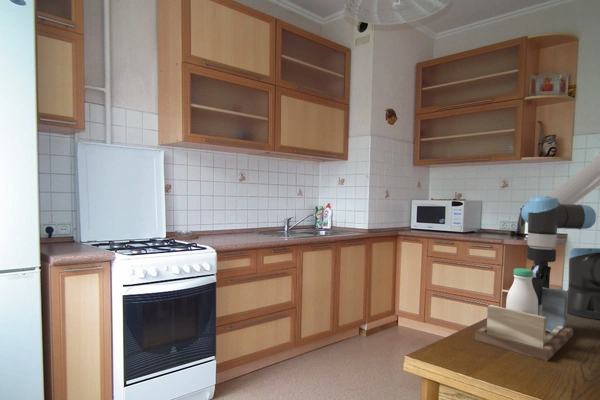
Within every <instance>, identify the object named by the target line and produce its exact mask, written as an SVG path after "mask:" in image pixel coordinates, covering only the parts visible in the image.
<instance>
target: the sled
mask: <svg viewBox="0 0 600 400" xmlns="http://www.w3.org/2000/svg"><path fill="white" fill-rule="evenodd" d="M541 305H542V316H538V315H534V314H529V313H525V312H520V311H516V310H511V309H507V308H506V307H502V306H497V305H493V304H488V305H487V316H486V317H487V318H486V325H487V333H488V334H492V335H496V336H499V337H503V338H507V339H510V340H514V341H517V342H521V343H525V344H528V345H532V346H536V347H539V348H543V347H545V346H546V345H547V344H548V343H549V342H550V341H551V340H552V339H553V338H555V337H556V336H557V335H558V334H559V333H560V332H561V331H562V330H564V329H565V328H566V327H567V326H568V313H567V305H568V292H567V291H566V290H560V289H555V288H550V287H549V288H543V289H542V299H541ZM546 332H549V333H548V334H547V335H546Z"/></svg>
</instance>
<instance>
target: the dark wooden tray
mask: <svg viewBox="0 0 600 400" xmlns="http://www.w3.org/2000/svg"><path fill="white" fill-rule="evenodd" d="M474 332H475V333H474V334H475V335H474V340H475V341H478V342H480V343H484V344H488V345H490V346H494V347H498V348H501V349H505V350H508V351H511V352H515V353H518V354H522V355H525V356H527V357H528V356H529V357H531V358H534V357H535V359H538V360H542V361H545V362H548V361H549V360H550V359H551V358H552V357H553V356H554V355H555V354H556V353H557V352H558V351H560V349H561V348H562V347H563V346H564V345H565V344H566V343H567V342H568V341H569V340H570V339H571V338H572V337H573V336H574V327H573V326H569V325H567V327H566V328H565V329H564V330H562V331H561V332H560V333H559V334H558V335H557V336H556V337H555V338H553V339H552V340H551V341H550V342H549V343H548V344H547V345H546V346H545V347H543V348H539V347H536V346H532V345H528V344H525V343H521V342H517V341H514V340H510V339H507V338H503V337H499V336H496V335H492V334H488V333H487V324H486V325H484V326H483V327H481V328H479V329H478V330H475V331H474Z"/></svg>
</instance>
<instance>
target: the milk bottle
mask: <svg viewBox="0 0 600 400" xmlns="http://www.w3.org/2000/svg"><path fill="white" fill-rule="evenodd" d="M513 277H514V279H513V283H512V285H511V287H510V288H509V290H508V291H507V294H506V295H507V296H506V299H505V301H506V302H505V303H506V304H505V308H507V309H511V310H516V311H520V312H525V313H529V314H534V315H538V298H537V295H536V292H535V290H534V288H533V285H532V279H533V271H532V270H531V269H530V268H521V267H520V268H519V267H515V268H513Z"/></svg>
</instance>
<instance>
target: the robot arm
mask: <svg viewBox="0 0 600 400" xmlns="http://www.w3.org/2000/svg"><path fill="white" fill-rule="evenodd" d="M599 186H600V152H598V153H596V155H595V157H594V160H593V161H592V162H590V163H588V164H587V165H586V166H584V167H582V169H580V170H578V171H577V173H575V174H573V175H572V176H571V177H569V178H568V179H567V180H566V181H564V182H563V183H562V184H560V185H559V186H558V187H556V188H555V189H553V190H552V191H551V192H550V193H548V194H546V195H545V196H544V197H543V196H532V197H531V198H529V202H528V203H526V204H524V205H523V207H522V209H521V212H520V213H521V217H522V220H523V221H524V222H525V223H526V224H527V235H525V238H526V239H527V242H526V243H527V244H526V245H527V248H526V258H527V259H528V260H529V261H532V262H533V263H532V264H533V265H531V269H530V270H532V271H533V279H532V285H533V288H534V290H535V292H536V295H537V298H538V316H542V305H541V299H542V289H543V288H549V289H550V283H551V282H550V281H551V279H550V278H551V270H552V267H551V266H549V263H555V262H556V259H557V250H556V249H555V248H557V245H558V243H557V242H558V241H557V240H558V229H566V230H567V229H570V230H571V229H572V230H584V229H590V228H592V227H593V226H594V224H595V223H596V220H597V214H596V211H595V209H594V208H593V207H592V206H590V205H587V204H580V203H579V204H578V203H577V202H579V201H581V200H582V199H583V198H584V197H586V196H587V195H588V194H590V193H591V192H592V191H594V190H595V189H597V188H598V187H599ZM576 203H577V204H576ZM566 292H568V305H567V314H571V315H574V316H577V317H583V318H586V319H592V320H593V319H594V320H600V247H599V248H598V247H597V248H592V247H590V248H589V247H586V248H585V247H575V248H572V249H570V251H569V258H568V286H567V291H566Z"/></svg>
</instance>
